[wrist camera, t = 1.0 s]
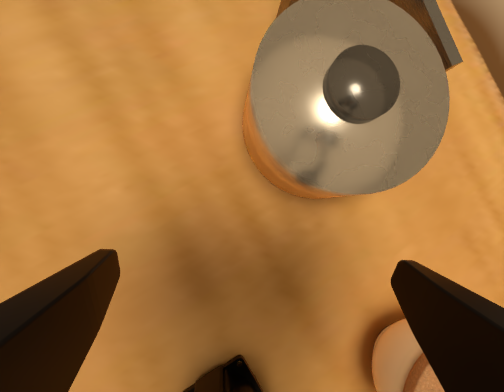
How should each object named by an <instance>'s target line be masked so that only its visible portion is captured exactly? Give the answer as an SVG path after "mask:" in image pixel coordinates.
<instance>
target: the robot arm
mask: <svg viewBox="0 0 504 392" xmlns="http://www.w3.org/2000/svg"><path fill="white" fill-rule="evenodd" d="M119 277H120V267H119V261H118V256H117V252H116V251H115V250H113V249H100V250H97V251H96V252H94V253H92V254H90V255H88V256H86V257H85V258H83V259H81V260H79V261H77V262H75V263H74V264H72V265H70V266H68V267H66V268H64V269H63V270H61V271H59V272H57V273H55V274H53V275H52V276H50V277H48V278H46V279H44V280H42V281H41V282H39V283H37V284H35V285H33V286H31V287H30V288H28V289H26V290H24V291H22V292H20V293H18V294H17V295H15V296H13V297H11V298H9V299H7V300H6V301H4V302H2V303H0V392H68V391H69V389H70V387H71V385H72V383H73V381H74V379H75V377H76V375H77V373H78V371H79V369H80V367H81V365H82V363H83V361H84V359H85V357H86V355H87V354H88V352H89V350H90V348H91V346H92V344H93V342H94V340H95V338H96V336H97V333H98V331H99V329H100V327H101V325H102V322H103V320H104V317H105V314H106V312H107V309H108V307H109V304H110V301H111V299H112V296H113V293H114V291H115V288H116V286H117V283H118V280H119ZM391 286H392V288H393V291H394V293H395V295H396V297H397V300H398V302H399V304H400V306H401V309H402V311H403V313H404V315H405V318H406V320H407V322H408V324H409V327H410V329H411V331H412V333H413V335H414V337H415V339H416V340H417V342H418V344H419V346H420V348H421V349H422V351H423V353H424V355H425V357H426V359H427V360H428V362H429V364H430V366H431V368H432V369H433V371H434V373H435V375H436V377H437V379H438V380H439V382H440V384H441V386H442V388H443V389H444V391H445V392H504V308H503V307H501V306H499V305H497V304H495V303H493V302H491V301H489V300H487V299H486V298H484V297H482V296H480V295H478V294H476V293H474V292H472V291H470V290H469V289H467V288H465V287H463V286H461V285H459V284H457V283H455V282H453V281H451V280H450V279H448V278H446V277H444V276H442V275H440V274H438V273H436V272H434V271H433V270H431V269H429V268H427V267H425V266H423V265H421V264H419V263H417V262H415V261H412V260H401V261H399V262H398V264H397V266H396V268H395V271H394V273H393V275H392V277H391ZM238 361H241V363H240V364H238V363H237V362H238ZM184 392H263V391H262V389H261V387H260V385H259V384H258V382H257V380H256V378H255V377H254V375H253V373H252V371H251V370H250V368H249V366H248V364H247V363H246V361H245V359H244V358H243V356H237V357H235V358H234V359H232V360H231V361H229V362H227V363H226V364H224V365H223V366H219V367H217V368H216V369H214V370H213V371H211V372H210V373H208V374H206V375H205V376H203V377H202V378H200V379H199V380H197V381H196V384H194V385H193V386H191V387H190V388H188V389H187V390H185V391H184Z"/></svg>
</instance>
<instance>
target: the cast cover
mask: <svg viewBox="0 0 504 392" xmlns="http://www.w3.org/2000/svg"><path fill="white" fill-rule="evenodd" d="M448 113H449V87H448V80H447V76H446V71H445V68H444V65H443V62H442V59H441V57H440V55H439V53H438V51H437V49H436V47H435V45H434V43H433V42H432V40H431V38H430V37H429V35H428V34H427V33H426V32H425V30H424V29H423V28H422V27H421V25H420V24H419V23H418V22H417V21H416V20H415V19H414V18H413V17H412V16H410V15H409V14H408V13H407V12H406V11H404V10H403V9H402V8H400V7H399V6H397V5H395V4H394V3H392V2H391V1H388V0H299V1H297V2H295V3H293V4H292V5H291V6H290V7H288V8H287V9H286V10H284V11H283V12H282V13H281V14H280V15H279V16H278V17H277V18H276V19H275V20H274V22H273V23H272V24H271V26H270V27H269V28H268V30H267V31H266V33H265V35H264V37H263V39H262V41H261V43H260V45H259V48H258V51H257V54H256V57H255V62H254V66H253V71H252V75H251V80H250V84H249V89H248V93H247V98H246V102H245V107H244V111H243V121H242V125H243V136H244V141H245V144H246V148H247V151H248V153H249V155H250V157H251V159H252V161H253V163H254V164H255V166H256V167H257V169H258V170H259V171H260V172H261V173H262V175H263V176H264V177H265V178H266V179H267V180H269V181H270V182H271V183H272V184H274V185H275V186H276V187H278V188H279V189H281V190H283V191H285V192H287V193H290V194H292V195H295V196H299V197H304V198H313V199H318V198H331V197H341V196H351V195H361V194H371V193H376V192H381V191H385V190H388V189H391V188H393V187H396V186H398V185H400V184H402V183H404V182H405V181H407V180H408V179H410V178H411V177H413V176H414V175H415V174H417V173H418V172H419V171H420V170H421V169H422V168H423V167H424V166H425V165H426V164H427V162H428V161H429V160H430V159H431V157H432V156H433V154H434V153H435V151H436V149H437V148H438V146H439V144H440V142H441V139H442V137H443V135H444V131H445V128H446V124H447V120H448Z"/></svg>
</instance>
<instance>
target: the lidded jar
mask: <svg viewBox="0 0 504 392" xmlns="http://www.w3.org/2000/svg"><path fill="white" fill-rule="evenodd" d="M372 375H373V382H374V385H375V388H376V391H377V392H445V391H444V389H443V388H442V386H441V384H440V382H439V380H438V379H437V377H436V375H435V373H434V371H433V369H432V368H431V366H430V364H429V362H428V360H427V359H426V357H425V355H424V353H423V351H422V349H421V348H420V346H419V344H418V342H417V340H416V339H415V337H414V335H413V333H412V331H411V329H410V327H409V324H408V322H407V320H406V319H402V320H399V321H397V322H395V323H394V324H391V325H389V326H388V327H386V328H385V329H384V330H382V332H381V333H380V334H379V335H378V337H377V339H376V341H375V344H374V348H373V356H372Z"/></svg>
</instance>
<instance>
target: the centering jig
mask: <svg viewBox="0 0 504 392" xmlns="http://www.w3.org/2000/svg"><path fill="white" fill-rule="evenodd" d="M297 1H299V0H281V3H280V7H279V10H278V14H277V17H278V16H279V15H280V14H281V13H282V12H283V11H284V10H286V9H287V8H288V7H290V6H291V5H292V4H293V3H295V2H297ZM388 1H391V2H392V3H394V4H395V5H397V6H399V7H400V8H402V9H403V10H404V11H406V12H407V13H408V14H409V15H410V16H412V17H413V18H414V19H415V20H416V21H417V22H418V23H419V24H420V25H421V27H422V28H423V29H424V30H425V32H426V33H427V34H428V35H429V37H430V38H431V40H432V42H433V43H434V45H435V47H436V49H437V51H438V53H439V55H440V57H441V59H442V62H443V65H444V68H445V71H448V70H450V69H451V68H453V67H455V66H456V65H458V64H460V63H461V62H463V61H462V58H461V56H460V54H459V52H458V49H457V47H456V45H455V43H454V40H453V38H452V36H451V34H450V31H449V29H448V27H447V25H446V23H445V20H444V18H443V16H442V14H441V11H440V9H439V7H438V5H437V2H436V0H388ZM277 17H276V18H277Z"/></svg>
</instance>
